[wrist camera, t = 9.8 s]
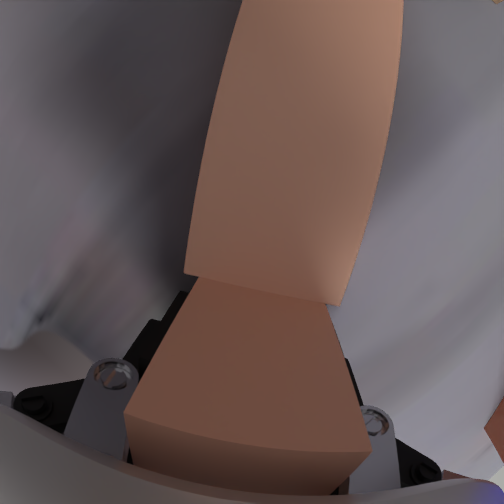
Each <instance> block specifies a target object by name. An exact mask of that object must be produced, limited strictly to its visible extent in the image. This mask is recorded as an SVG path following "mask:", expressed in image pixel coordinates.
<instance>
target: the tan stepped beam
mask: <svg viewBox="0 0 504 504" xmlns="http://www.w3.org/2000/svg"><path fill="white" fill-rule="evenodd" d="M402 23H403V0H243V1H242V4H241V7H240V11H239V14H238V17H237V20H236V24H235V27H234V30H233V34H232V37H231V41H230V44H229V48H228V51H227V55H226V59H225V62H224V66H223V70H222V74H221V78H220V82H219V86H218V90H217V94H216V98H215V102H214V106H213V111H212V115H211V120H210V124H209V129H208V133H207V138H206V143H205V147H204V152H203V157H202V162H201V168H200V173H199V178H198V183H197V189H196V195H195V200H194V206H193V212H192V218H191V224H190V231H189V237H188V244H187V251H186V258H185V266H184V273H185V274H189V275H193V276H198V277H199V278H198V279H197V281H196V283H195V284H194V286H193V288H192V290H191V291H190V293H189V295H188V296H187V298H186V300H185V302H184V303H183V305H182V307H181V309H180V310H179V312H178V314H177V316H176V317H175V319H174V321H173V323H172V324H171V326H170V328H169V330H168V331H167V333H166V335H165V337H164V338H163V340H162V342H161V344H160V346H159V347H158V349H157V351H156V353H155V355H154V356H153V358H152V360H151V362H150V364H149V365H148V367H147V369H146V371H145V373H144V375H143V376H142V378H141V380H140V382H139V384H138V386H137V388H136V389H135V391H134V393H133V395H132V397H131V399H130V401H129V403H128V404H127V406H126V408H125V410H124V412H123V414H124V420H125V426H126V431H127V437H128V442H129V447H130V451H131V456H132V460H133V465H135V466H137V467H140V468H143V469H146V470H150V471H153V472H156V473H159V474H163V475H166V476H170V477H174V478H177V479H181V480H186V481H190V482H194V483H199V484H203V485H208V486H213V487H219V488H225V489H231V490H238V491H245V492H254V493H264V494H276V495H297V496H328V495H330V494H331V493H332V492H333V491H334V490H335V489H336V488H337V487H338V486H339V485H341V484H342V483H343V482H344V481H345V480H346V479H347V478H348V477H349V476H350V475H351V474H352V473H353V472H354V471H355V470H356V469H357V468H358V467H359V466H360V465H361V463H362V462H363V461H364V460H365V459H366V458H367V457H368V456H369V455H370V454H371V453H372V451H373V450H372V447H371V443H370V439H369V436H368V432H367V429H366V426H365V422H364V419H363V415H362V412H361V409H360V406H359V402H358V399H357V396H356V393H355V389H354V386H353V383H352V380H351V377H350V374H349V371H348V368H347V365H346V362H345V359H344V356H343V353H342V350H341V347H340V344H339V341H338V338H337V335H336V332H335V330H334V327H333V324H332V321H331V318H330V316H329V313H328V310H327V307H326V304H330V305H335V306H340V304H341V301H342V299H343V296H344V293H345V290H346V287H347V285H348V282H349V279H350V276H351V273H352V270H353V267H354V264H355V261H356V258H357V255H358V251H359V248H360V245H361V242H362V238H363V235H364V232H365V228H366V225H367V221H368V218H369V214H370V211H371V207H372V203H373V199H374V195H375V192H376V188H377V183H378V179H379V175H380V171H381V167H382V162H383V158H384V153H385V148H386V143H387V138H388V133H389V128H390V122H391V117H392V111H393V105H394V99H395V92H396V85H397V77H398V69H399V60H400V50H401V38H402Z"/></svg>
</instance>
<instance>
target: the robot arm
mask: <svg viewBox="0 0 504 504" xmlns="http://www.w3.org/2000/svg"><path fill="white" fill-rule="evenodd" d="M188 295H189V293H188V292H184V291H180V292H179V294H178V295H177V297H176V298H175V300H174V301H173V303H172V304H171V306H170V307H169V309H168V311H167V312H166V314H165V315H164V317H163V318H162V320H161V321H158V320H154V319H150V320H149V321H148V323H147V324H146V326H145V327H144V329H143V330H142V331H141V333H140V334H139V336H138V337H137V339H136V340H135V342H134V343H133V344H132V346H131V347H130V349H129V350H128V352H127V353H126V355H125V356H124V358H123V359H119V358H104V359H101V360H99V361H97V362H95V363H94V364H93V365H92V366H91V368H90V369H89V371H88V373H87V376H86V378H85V379H81V380H76V381H70V382H64V383H58V384H52V385H45V386H39V387H32V388H28V389H25V390H23V391H21V392H20V393H19V394H18V395H17V396H14V395H13V393H12V392H6V391H0V504H504V493H503V491H502V490H501V488H500V487H499V486H498V485H496V484H494V483H493V482H490V481H487V480H481V479H472V478H469V477H466V476H462V475H459V474H456V473H453V472H450V471H447V470H443V471H442V472H441V470H440V468H439V466H438V465H437V464H436V463H435V462H434V461H433V460H431V459H430V458H428V457H426V456H424V455H423V454H421V453H419V452H418V451H416V450H414V449H413V448H411V447H409V446H408V445H406V444H405V443H403V442H401V441H400V440H398V439H396V438H395V433H394V426H393V423H392V420H391V418H390V417H389V416H388V414H386V413H385V412H384V411H383V410H381V409H379V408H377V407H374V406H367V405H363V402H362V399H361V396H360V393H359V390H358V387H357V384H356V381H355V378H354V375H353V372H352V369H351V366H350V363H349V361H348V359H346V358H344V359H345V362H346V365H347V368H348V371H349V374H350V377H351V380H352V383H353V386H354V389H355V393H356V396H357V399H358V402H359V406H360V409H361V412H362V415H363V419H364V422H365V426H366V429H367V432H368V436H369V439H370V443H371V447H372V450H373V451H372V453H371V454H370V455H369V456H368V457H367V458H366V459H365V460H364V461H363V462H362V463H361V465H360V466H359V467H358V468H357V469H356V470H355V471H354V472H353V473H352V474H351V475H350V476H349V477H348V478H347V479H346V480H345V481H344V482H343V483H342V484H341V485H339V486H338V487H337V488H336V489H335V490H334V491H333V492H332V493H331V494H330V495H328V496H297V495H276V494H264V493H254V492H245V491H238V490H231V489H225V488H219V487H213V486H208V485H203V484H199V483H194V482H190V481H186V480H181V479H177V478H174V477H170V476H166V475H163V474H159V473H156V472H153V471H150V470H146V469H143V468H140V467H137V466H135V465H133V460H132V456H131V451H130V447H129V442H128V437H127V431H126V426H125V420H124V414H123V412H124V410H125V408H126V406H127V404H128V403H129V401H130V399H131V397H132V395H133V393H134V391H135V389H136V388H137V386H138V384H139V382H140V380H141V378H142V376H143V375H144V373H145V371H146V369H147V367H148V365H149V364H150V362H151V360H152V358H153V356H154V355H155V353H156V351H157V349H158V347H159V346H160V344H161V342H162V340H163V338H164V337H165V335H166V333H167V331H168V330H169V328H170V326H171V324H172V323H173V321H174V319H175V317H176V316H177V314H178V312H179V310H180V309H181V307H182V305H183V303H184V302H185V300H186V298H187V296H188ZM332 324H333V323H332ZM333 327H334V326H333ZM334 330H335V329H334ZM335 332H336V331H335ZM336 335H337V334H336ZM337 338H338V337H337ZM338 341H339V340H338ZM339 344H340V343H339ZM340 347H341V346H340ZM341 350H342V349H341ZM342 353H343V352H342ZM343 356H344V355H343Z"/></svg>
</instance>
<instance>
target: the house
mask: <svg viewBox="0 0 504 504" xmlns="http://www.w3.org/2000/svg"><path fill="white" fill-rule="evenodd" d="M484 429H485V431H486V433H487V434H488V436H489V438H490V439H491V441H492V443H493V445H494V446H495V448H496V450H497V452H498V454H499V455H500V457H501V459H502V461H503V463H504V397H503V399H502V401H501V402H500V404H499V406H498V407H497V409H496V411H495V412H494V414H493V415H492V417H491V418H490V420H489V421H488V423H487V424H486V426H485V427H484Z"/></svg>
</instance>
